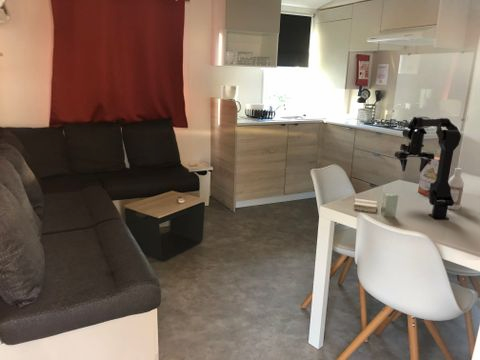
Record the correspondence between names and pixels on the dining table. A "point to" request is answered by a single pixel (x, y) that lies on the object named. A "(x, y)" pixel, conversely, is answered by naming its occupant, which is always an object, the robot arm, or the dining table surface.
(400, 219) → the dining table surface
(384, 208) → the tea tin
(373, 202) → the birch block
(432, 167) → the cracker box
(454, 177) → the bath foam
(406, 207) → the dining table surface
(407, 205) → the dining table surface
